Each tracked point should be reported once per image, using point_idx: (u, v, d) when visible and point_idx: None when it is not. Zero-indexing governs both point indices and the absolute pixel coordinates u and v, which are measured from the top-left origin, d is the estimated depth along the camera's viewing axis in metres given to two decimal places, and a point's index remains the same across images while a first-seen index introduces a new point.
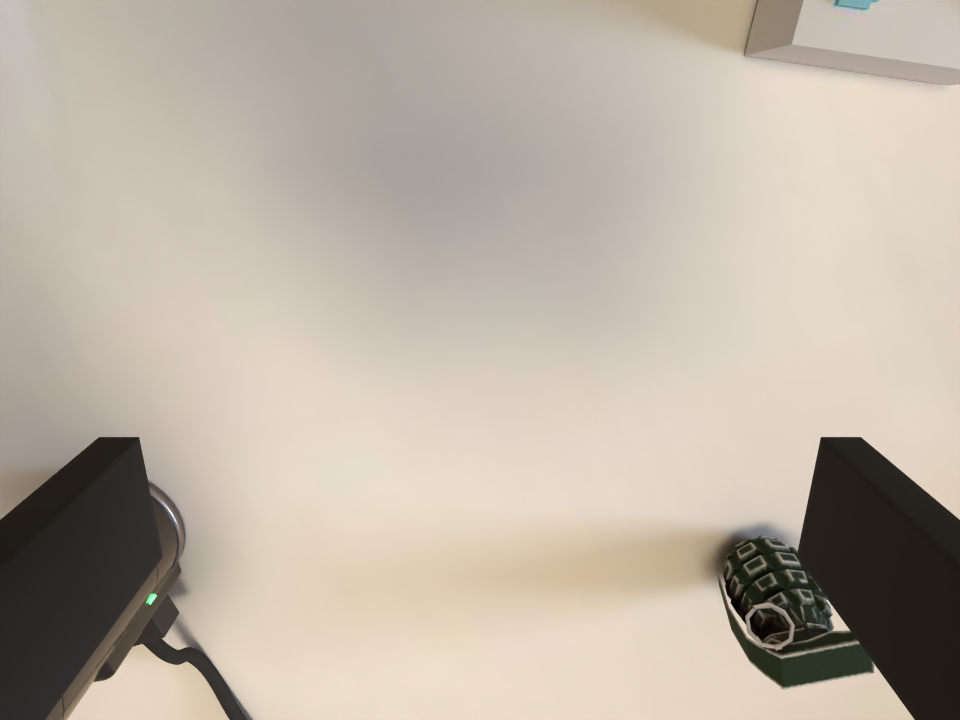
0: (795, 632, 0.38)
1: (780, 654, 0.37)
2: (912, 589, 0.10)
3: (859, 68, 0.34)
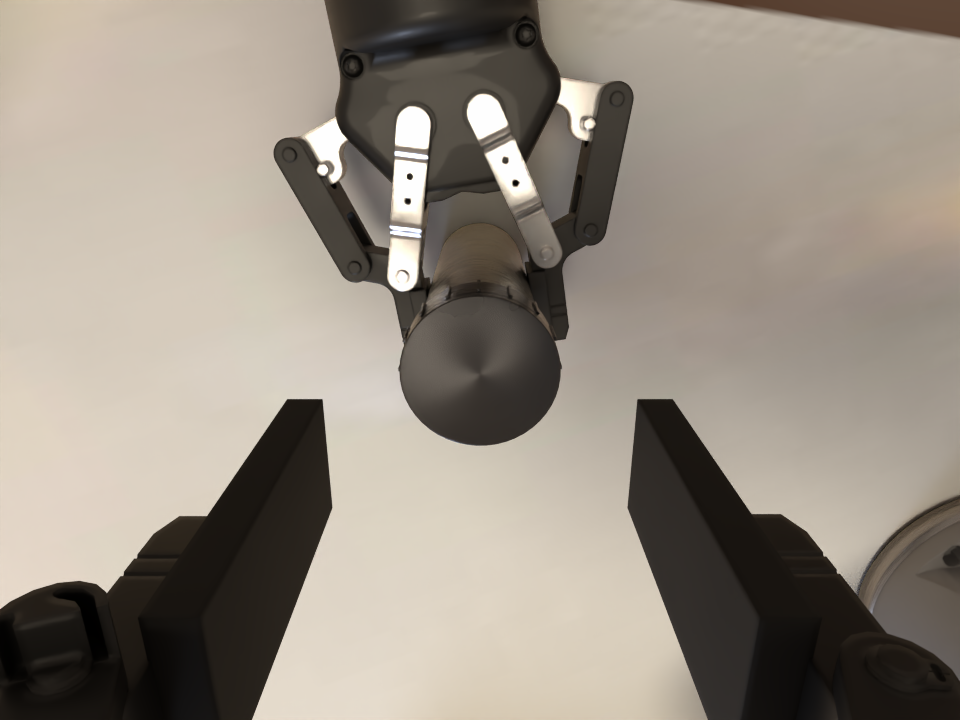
0: None
1: None
2: (673, 520, 0.11)
3: None
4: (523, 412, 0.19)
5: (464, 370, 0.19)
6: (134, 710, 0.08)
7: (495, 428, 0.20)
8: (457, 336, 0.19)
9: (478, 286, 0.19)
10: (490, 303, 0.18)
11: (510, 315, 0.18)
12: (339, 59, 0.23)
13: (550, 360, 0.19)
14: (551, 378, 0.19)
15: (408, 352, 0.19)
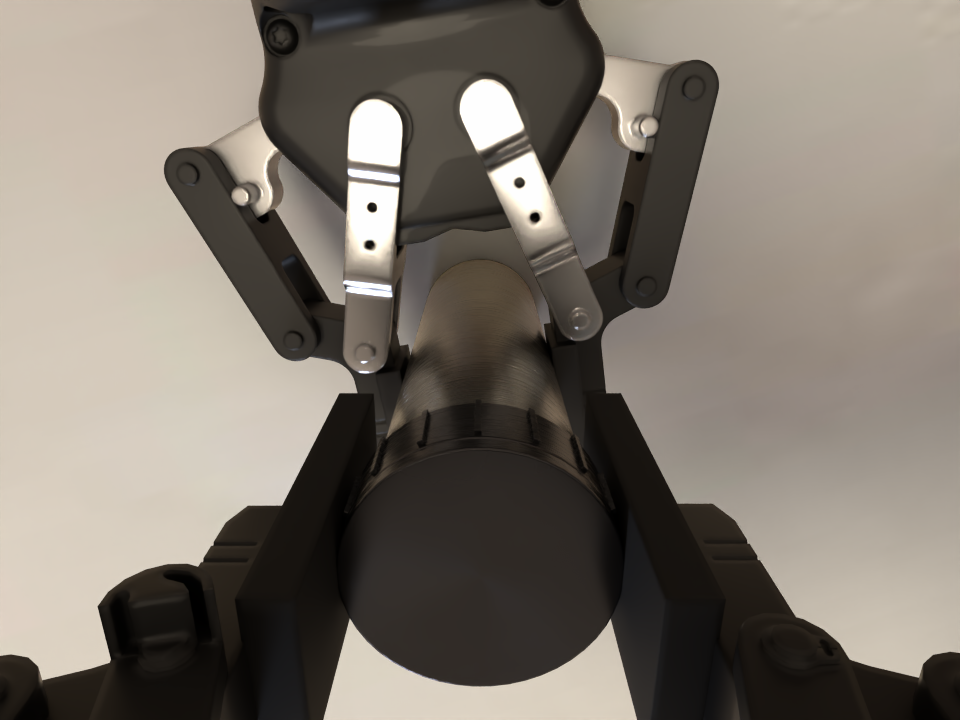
0: None
1: None
2: None
3: None
4: (556, 636, 0.11)
5: (452, 571, 0.11)
6: (232, 692, 0.08)
7: (507, 661, 0.11)
8: (439, 516, 0.10)
9: (477, 421, 0.10)
10: (499, 460, 0.10)
11: (536, 481, 0.10)
12: (259, 25, 0.15)
13: (607, 555, 0.10)
14: (608, 583, 0.11)
15: (350, 542, 0.10)
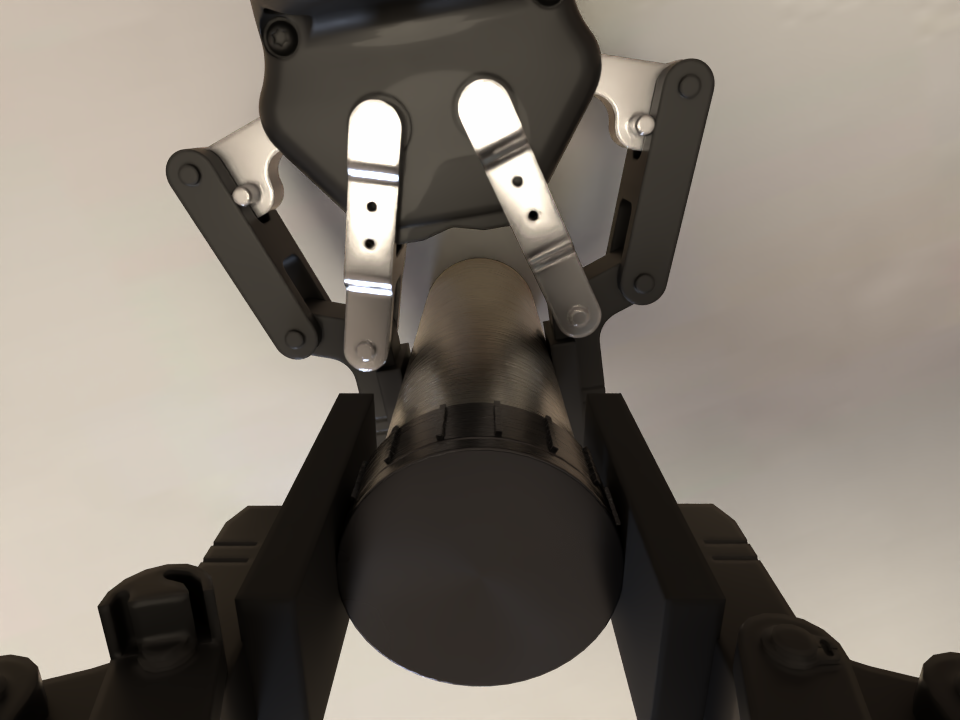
0: None
1: None
2: None
3: None
4: (536, 493, 0.10)
5: (480, 600, 0.11)
6: (232, 692, 0.08)
7: (580, 530, 0.10)
8: (422, 622, 0.11)
9: None
10: (349, 590, 0.11)
11: (359, 557, 0.10)
12: (259, 27, 0.15)
13: (419, 476, 0.10)
14: (454, 465, 0.10)
15: (472, 679, 0.11)
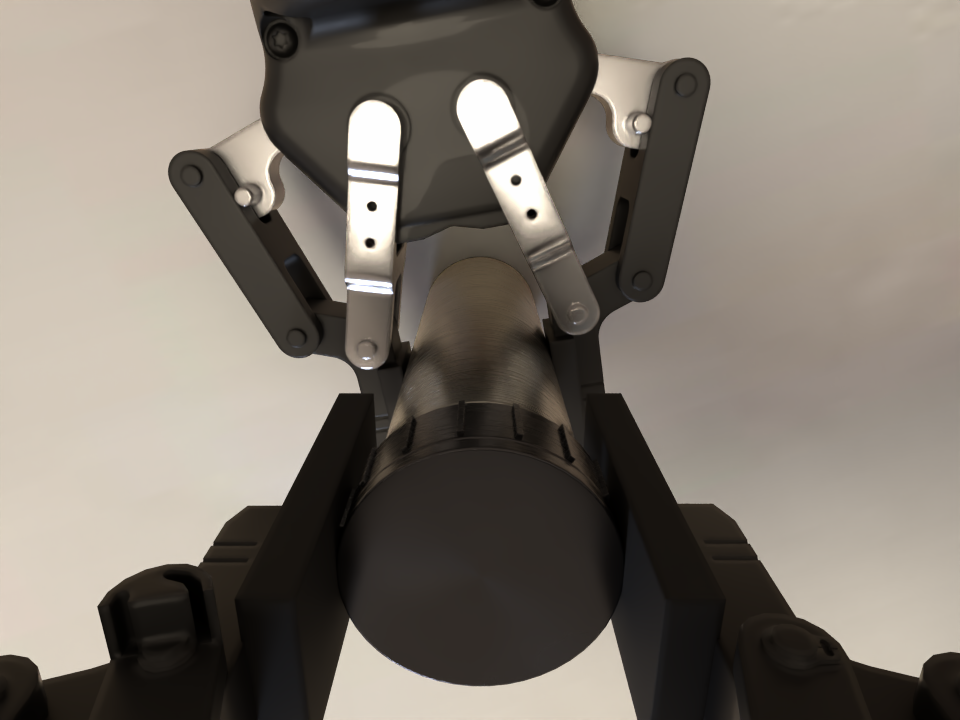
0: None
1: None
2: None
3: None
4: (372, 554, 0.10)
5: (509, 571, 0.11)
6: (232, 692, 0.08)
7: (399, 508, 0.10)
8: (548, 611, 0.11)
9: None
10: (526, 671, 0.11)
11: (487, 670, 0.11)
12: (260, 29, 0.15)
13: (388, 642, 0.11)
14: (367, 620, 0.11)
15: (613, 555, 0.10)
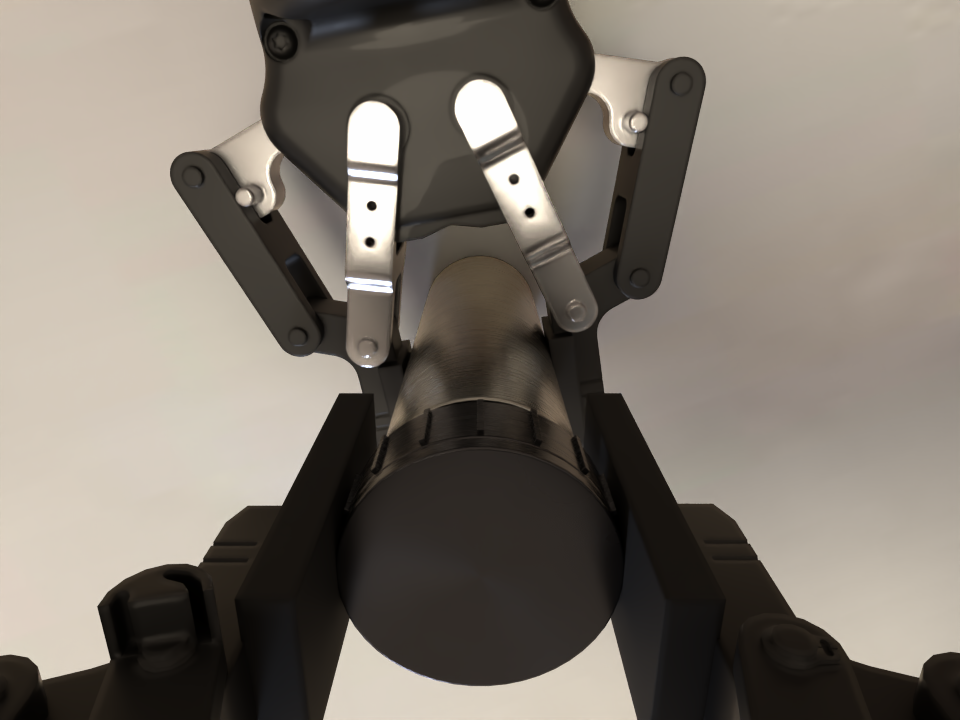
0: None
1: None
2: None
3: None
4: (481, 662, 0.11)
5: (466, 555, 0.10)
6: (232, 692, 0.08)
7: (425, 651, 0.11)
8: (505, 509, 0.10)
9: (585, 460, 0.11)
10: (591, 508, 0.10)
11: (598, 544, 0.10)
12: (260, 32, 0.15)
13: (582, 633, 0.11)
14: (559, 653, 0.11)
15: (417, 471, 0.10)
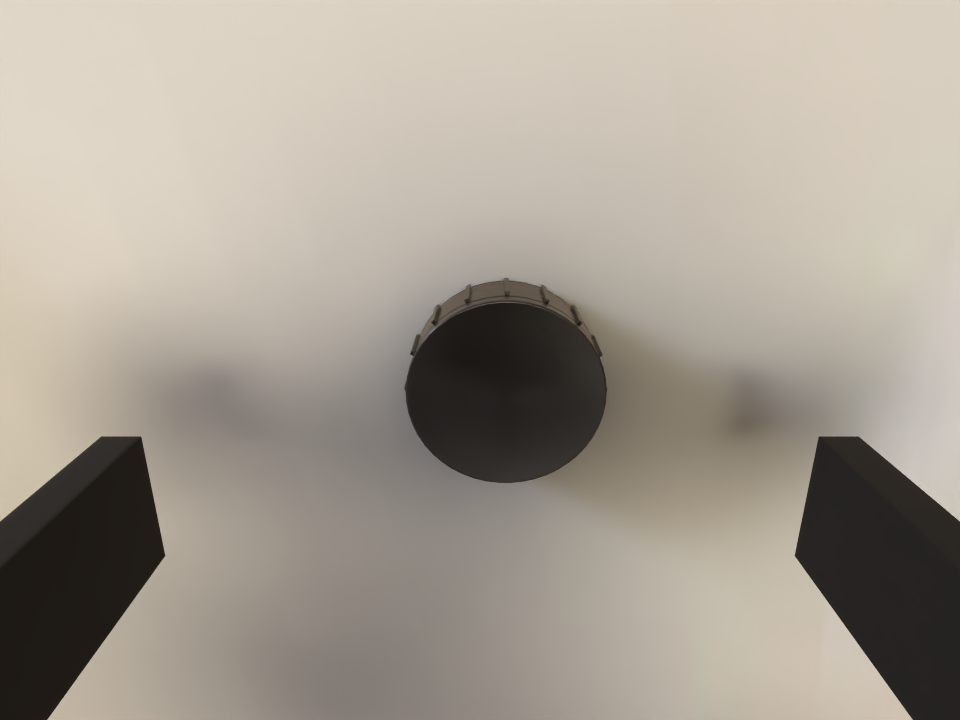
0: None
1: None
2: (909, 588, 0.10)
3: None
4: (505, 463, 0.16)
5: (496, 380, 0.15)
6: None
7: (466, 455, 0.16)
8: (523, 346, 0.15)
9: (579, 317, 0.15)
10: (582, 346, 0.15)
11: (587, 373, 0.15)
12: None
13: (576, 441, 0.16)
14: (560, 457, 0.16)
15: (464, 317, 0.15)
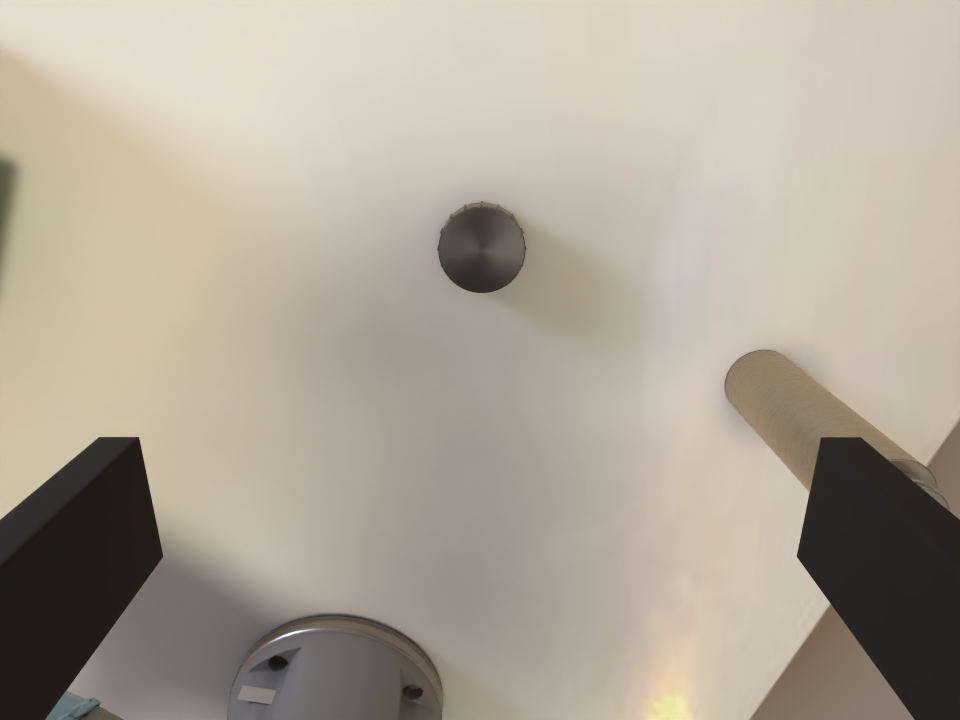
0: None
1: None
2: (912, 589, 0.10)
3: None
4: (482, 282, 0.36)
5: (477, 243, 0.35)
6: None
7: (464, 278, 0.36)
8: (489, 227, 0.35)
9: (513, 216, 0.35)
10: (514, 226, 0.35)
11: (516, 239, 0.35)
12: None
13: (513, 271, 0.36)
14: (506, 279, 0.36)
15: (464, 214, 0.35)
